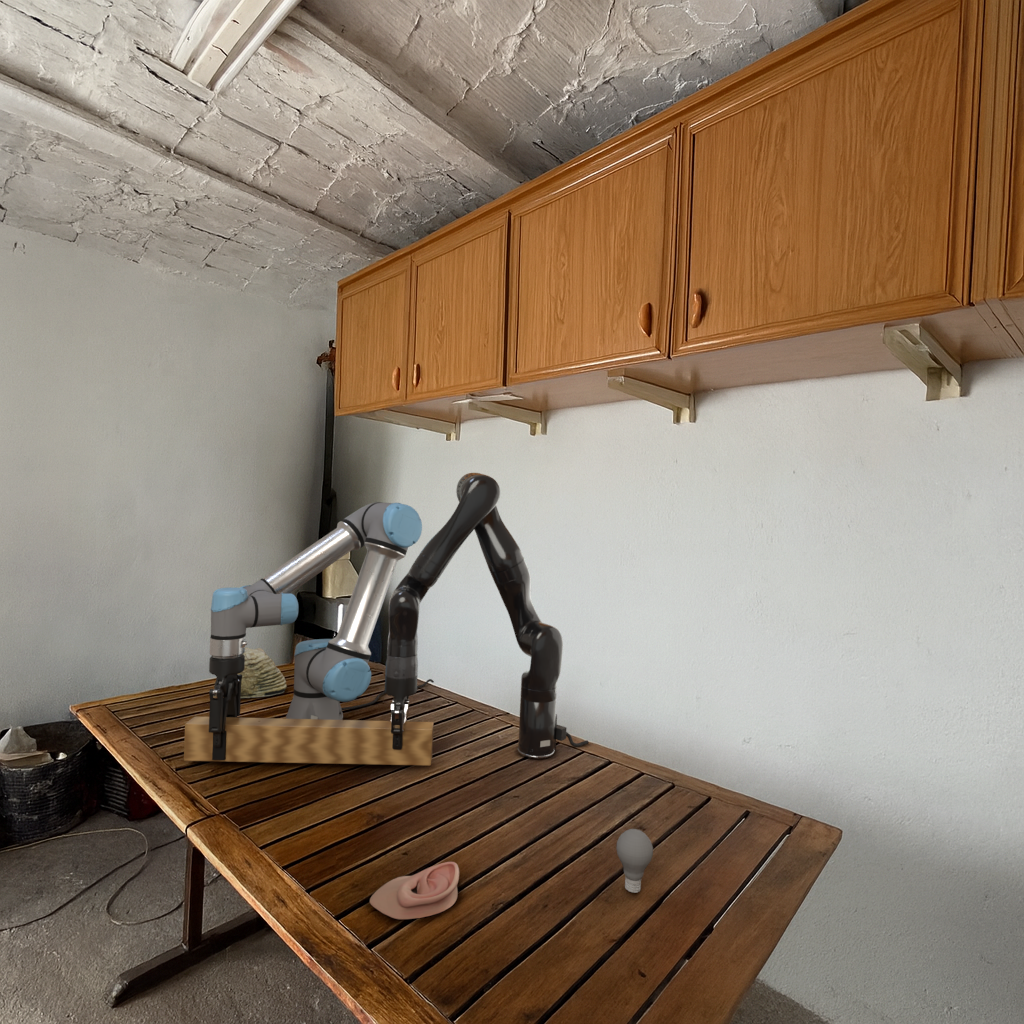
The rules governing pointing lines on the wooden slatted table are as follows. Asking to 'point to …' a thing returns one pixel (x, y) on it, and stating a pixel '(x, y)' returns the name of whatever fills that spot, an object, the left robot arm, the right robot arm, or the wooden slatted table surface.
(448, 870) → the anatomical model
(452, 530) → the right robot arm
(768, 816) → the wooden slatted table surface
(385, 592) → the left robot arm
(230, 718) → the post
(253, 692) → the fossil
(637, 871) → the light bulb
